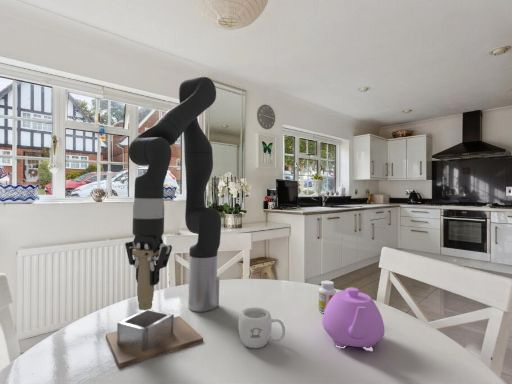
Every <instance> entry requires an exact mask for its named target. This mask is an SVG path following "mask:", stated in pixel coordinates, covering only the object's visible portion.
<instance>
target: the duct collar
mask: <svg viewBox="0 0 512 384" xmlns="http://www.w3.org/2000/svg"><path fill="white" fill-rule="evenodd" d="M174 317H175V314H173V313H171V312H165V311H160V310H157V309H152V308H151V309H147V310H140V311H139V312H137V313H135V314H133V315H130V316H128V317H126V318H124V319H123V320H120V321H118V322H117V323H116V326H117V330H116V331H117V343H118V344H122V345H125V346H128V347H131V348H134V349H138V350H141V351H144V352H145V351H147V350H148V349H150V348H152V347H153V346H155V345H156V344H158V343H159V342H161V341H162V340H164V339H165V338H167V337H168V336H170V335H171V334H173V325H174Z"/></svg>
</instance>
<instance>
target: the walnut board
mask: <svg viewBox="0 0 512 384" xmlns="http://www.w3.org/2000/svg"><path fill="white" fill-rule="evenodd" d="M105 339H106V342H107V344H108V346H109V348H110V351H111V354H112V356H113V358H114V361H115V363H116V365H117V367H118V369H120V368H123V367H127V366H130V365H133V364H137V363H139V362H140V363H141V362H142V361H143V362H144V361H146V360H149V359H152V358H156V357H159V356H161V355H165V354H169V353H171V352H175V351H178V350H181V349H185V348H188V347H191V346H194V345H198V344H200V343H203V342H204V337H203V336H202V335H201V334H200V333H198V331H197V330H196V329H194V327H192V326H191V325H190V324H189V323H188V322H187V321H186V320H185V319H183V317H182V316H180V315H178V316H174V325H173V334H171V335H170V336H168V337H167V338H165V339H164V340H162V341H161V342H159V343H158V344H156V345H155V346H153V347H152V348H150V349H148V350H147V351H145V352H144V351H141V350H138V349H134V348H131V347H128V346H125V345H122V344H118V343H117V330H115V331H112V332H107V333H105Z"/></svg>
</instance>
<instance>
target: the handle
mask: <svg viewBox="0 0 512 384" xmlns="http://www.w3.org/2000/svg"><path fill="white" fill-rule="evenodd" d="M159 251H160V250H159ZM159 251H158V250H157V252H156V253H153V250H151V251H147V250H144V249H141V250H139V249H133V257H134V256H135V257H137V258H138V259H139V271H138V283H137V282H136V285H137V287H136V288H137V289H136V295H137V301H138V302H137V303H138V310H139V311H143V310H147V309H152V307H153V301H154V293H155V285H154V286H152V285H150V271H151V268H150V263H149V262H148V260H147V258H148V257H149V256H150V253H151V255H152V257H153V258H154V257H155V256H157V255H158V254H159Z"/></svg>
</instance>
